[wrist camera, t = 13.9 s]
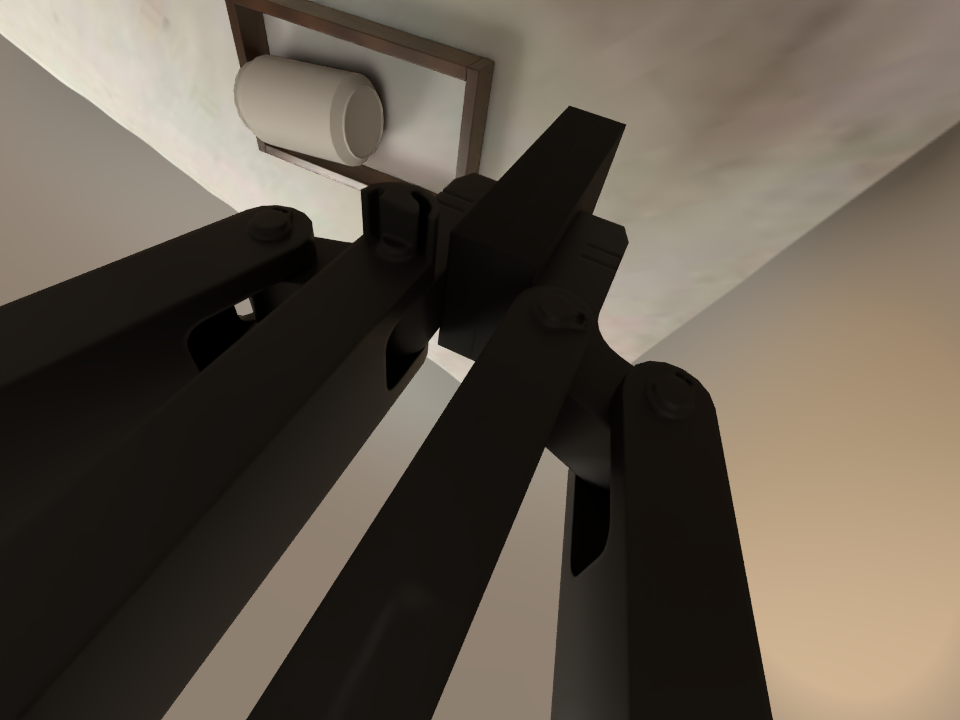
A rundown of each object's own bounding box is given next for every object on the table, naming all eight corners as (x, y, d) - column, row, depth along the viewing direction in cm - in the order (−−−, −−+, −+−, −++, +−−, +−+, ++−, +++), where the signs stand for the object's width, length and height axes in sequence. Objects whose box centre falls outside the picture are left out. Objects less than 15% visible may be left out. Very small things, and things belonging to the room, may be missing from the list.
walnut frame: (278, 140, 50) (259, 150, 48) (247, -20, 40) (221, -15, 38) (471, 216, 46) (458, 230, 44) (494, 61, 36) (479, 70, 34)
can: (373, 181, 44) (274, 154, 47) (396, 105, 43) (295, 82, 46) (328, 145, 37) (215, 116, 40) (355, 53, 36) (239, 31, 39)
